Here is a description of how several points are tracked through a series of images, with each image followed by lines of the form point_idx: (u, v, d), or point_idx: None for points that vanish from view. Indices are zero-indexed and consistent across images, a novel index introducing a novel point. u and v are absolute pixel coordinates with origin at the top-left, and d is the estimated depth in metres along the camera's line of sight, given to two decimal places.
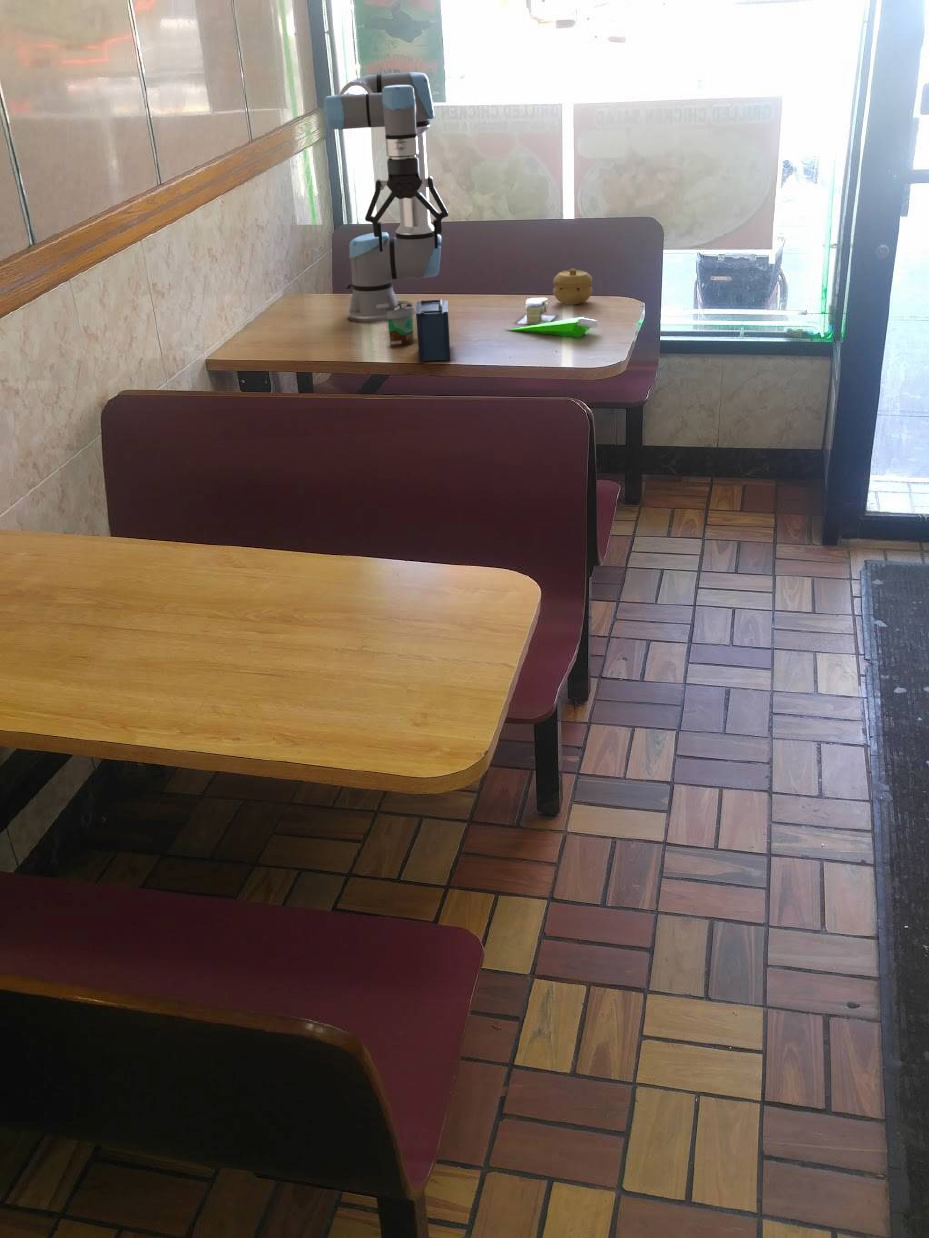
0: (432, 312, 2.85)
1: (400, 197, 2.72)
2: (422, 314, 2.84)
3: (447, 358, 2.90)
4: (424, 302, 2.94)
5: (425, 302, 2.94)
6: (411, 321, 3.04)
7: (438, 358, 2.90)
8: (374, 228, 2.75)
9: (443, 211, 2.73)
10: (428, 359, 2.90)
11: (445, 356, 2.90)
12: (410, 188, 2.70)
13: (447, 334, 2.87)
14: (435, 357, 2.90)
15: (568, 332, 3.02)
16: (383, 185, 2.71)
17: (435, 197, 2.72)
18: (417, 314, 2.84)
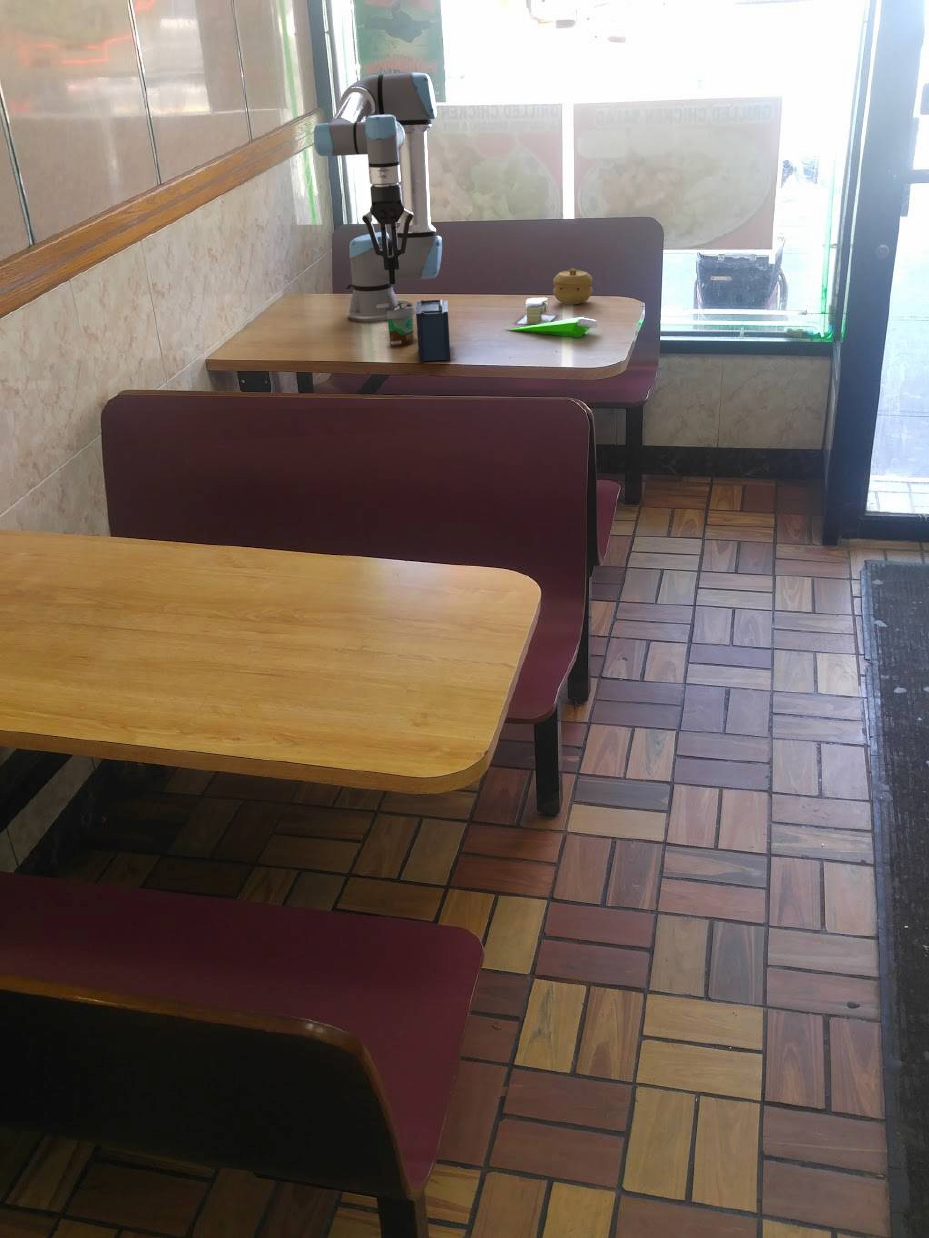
0: (432, 312, 2.85)
1: None
2: (422, 314, 2.84)
3: (447, 358, 2.90)
4: (424, 302, 2.94)
5: (425, 302, 2.94)
6: (411, 321, 3.04)
7: (438, 358, 2.90)
8: (384, 261, 2.83)
9: (402, 247, 2.81)
10: (428, 359, 2.90)
11: (445, 356, 2.90)
12: (391, 214, 2.77)
13: (447, 334, 2.87)
14: (435, 357, 2.90)
15: (568, 332, 3.02)
16: (369, 216, 2.78)
17: (404, 232, 2.79)
18: (417, 314, 2.84)
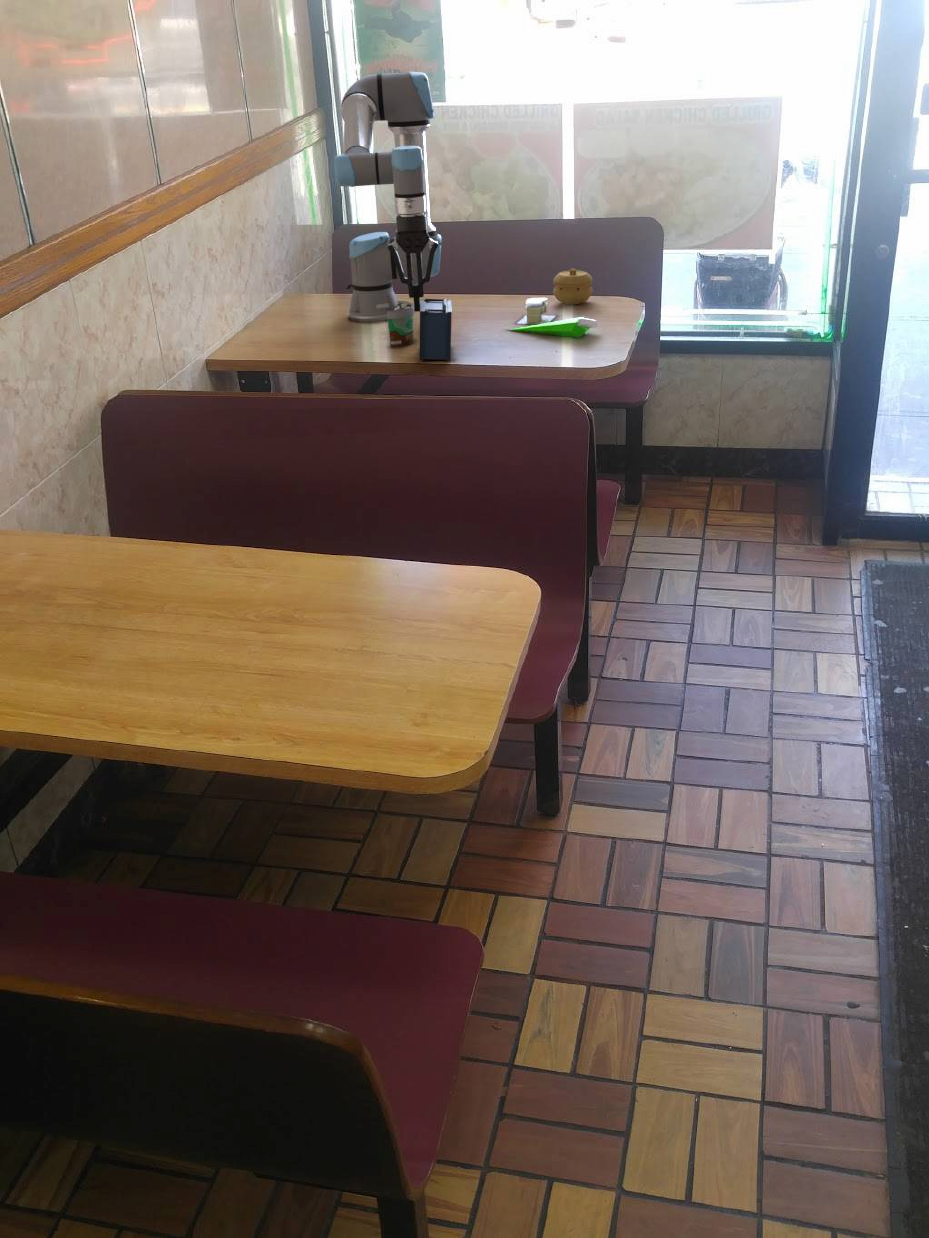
0: (436, 311, 2.85)
1: None
2: (426, 312, 2.84)
3: (447, 358, 2.90)
4: (428, 300, 2.94)
5: (429, 300, 2.94)
6: (411, 321, 3.04)
7: (438, 357, 2.90)
8: (409, 289, 2.87)
9: (427, 275, 2.85)
10: (428, 357, 2.90)
11: (445, 356, 2.90)
12: (417, 244, 2.80)
13: (449, 334, 2.87)
14: (435, 356, 2.90)
15: (568, 332, 3.02)
16: (395, 245, 2.82)
17: (429, 260, 2.83)
18: (421, 312, 2.84)
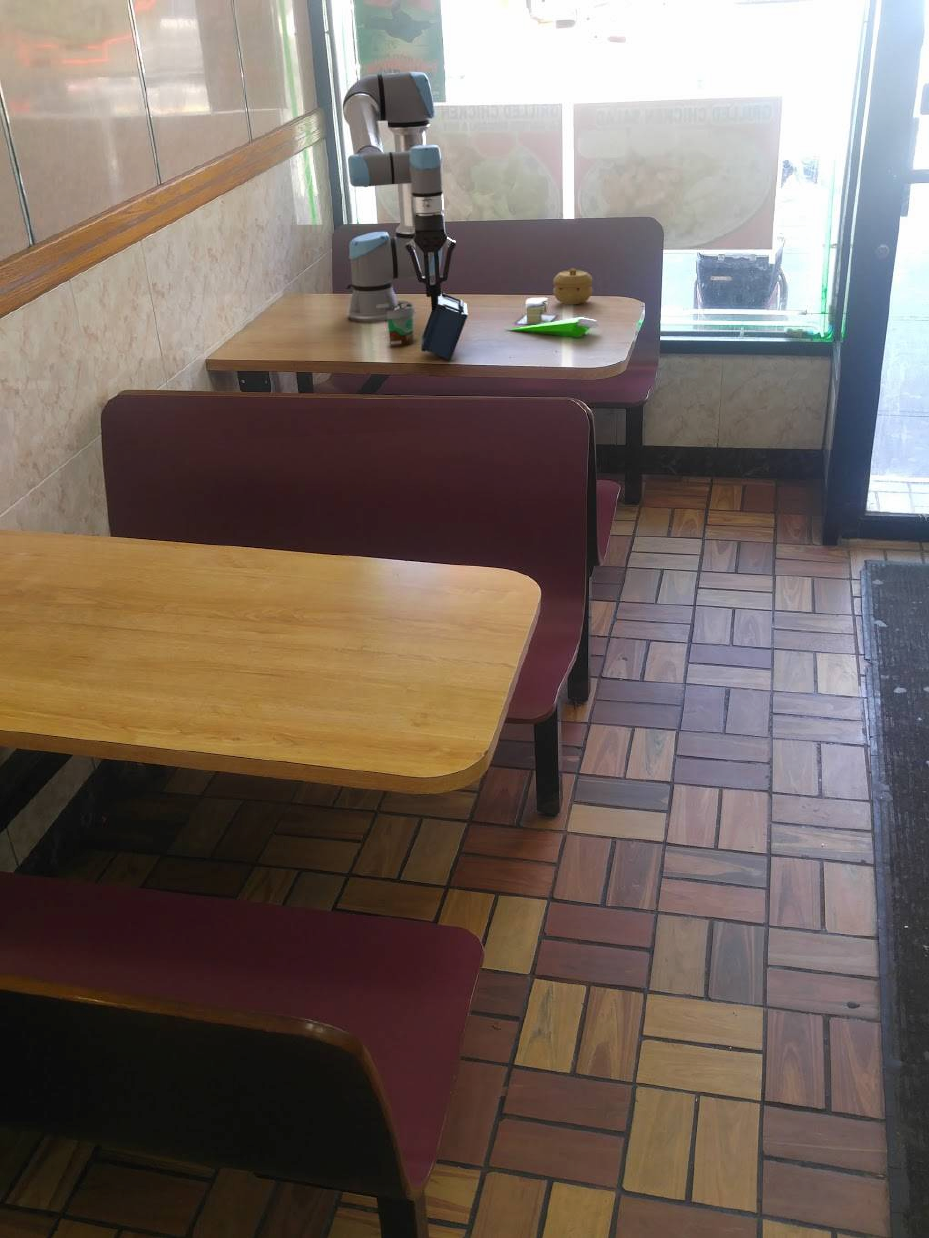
0: (453, 309, 2.84)
1: None
2: (443, 307, 2.83)
3: (448, 357, 2.90)
4: (445, 296, 2.94)
5: (446, 296, 2.94)
6: (411, 321, 3.04)
7: (440, 353, 2.90)
8: (426, 288, 2.87)
9: (445, 275, 2.85)
10: (430, 350, 2.89)
11: (447, 354, 2.90)
12: (434, 243, 2.80)
13: (458, 335, 2.87)
14: (437, 352, 2.89)
15: (568, 332, 3.02)
16: (413, 245, 2.82)
17: (447, 260, 2.83)
18: (439, 305, 2.83)
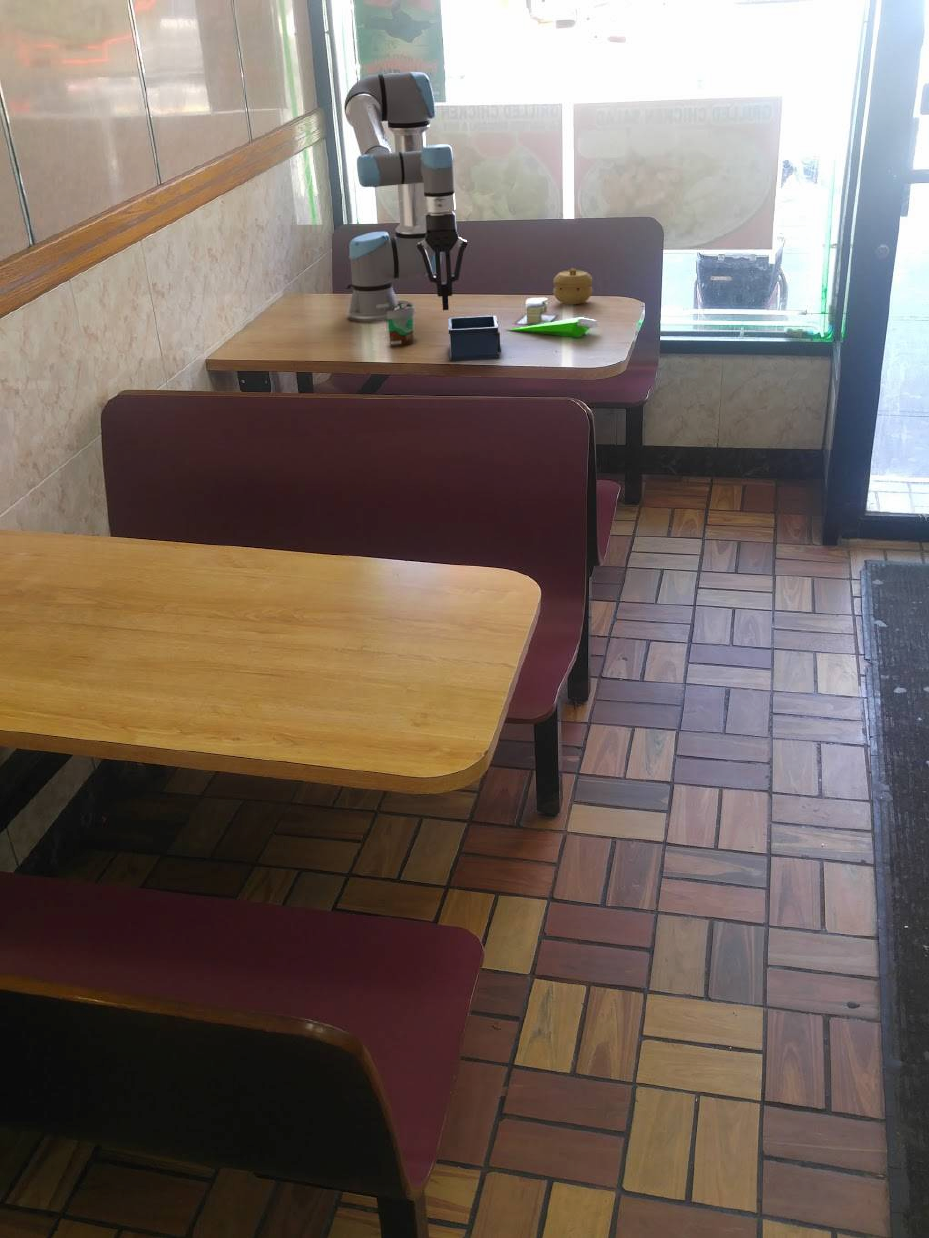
0: (498, 343, 2.89)
1: None
2: (497, 334, 2.87)
3: (453, 358, 2.90)
4: None
5: None
6: (411, 321, 3.04)
7: (452, 349, 2.89)
8: (438, 288, 2.87)
9: (456, 274, 2.85)
10: (451, 339, 2.88)
11: (454, 356, 2.90)
12: (446, 242, 2.80)
13: (477, 358, 2.90)
14: (453, 345, 2.89)
15: (568, 332, 3.02)
16: (424, 244, 2.82)
17: (458, 259, 2.83)
18: (497, 329, 2.87)
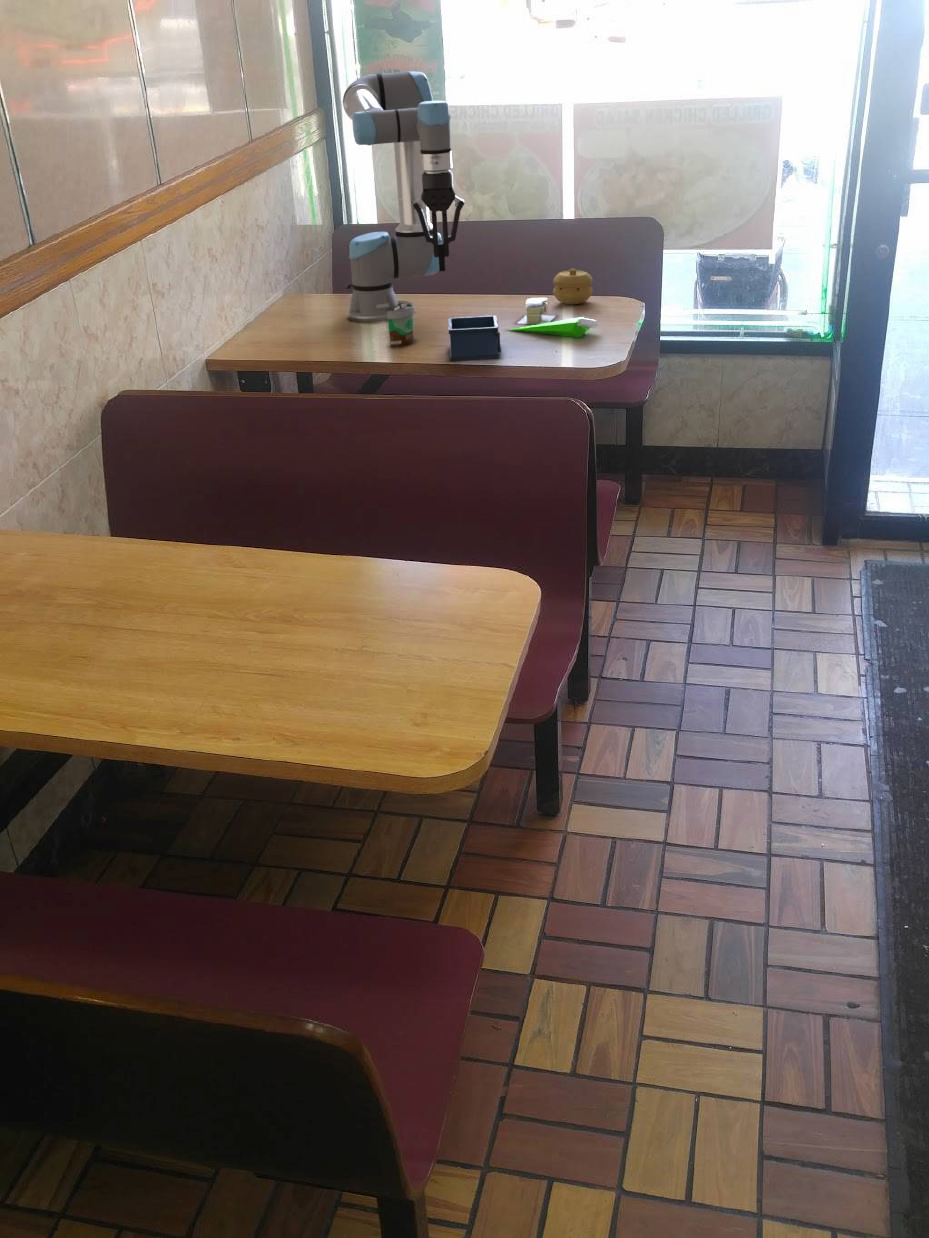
0: (498, 343, 2.89)
1: None
2: (497, 334, 2.87)
3: (453, 358, 2.90)
4: None
5: None
6: (411, 321, 3.04)
7: (452, 349, 2.89)
8: (434, 249, 2.83)
9: (453, 234, 2.81)
10: (451, 339, 2.88)
11: (454, 356, 2.90)
12: (443, 201, 2.76)
13: (477, 358, 2.90)
14: (453, 345, 2.89)
15: (568, 332, 3.02)
16: (420, 203, 2.77)
17: (455, 219, 2.79)
18: (497, 329, 2.87)
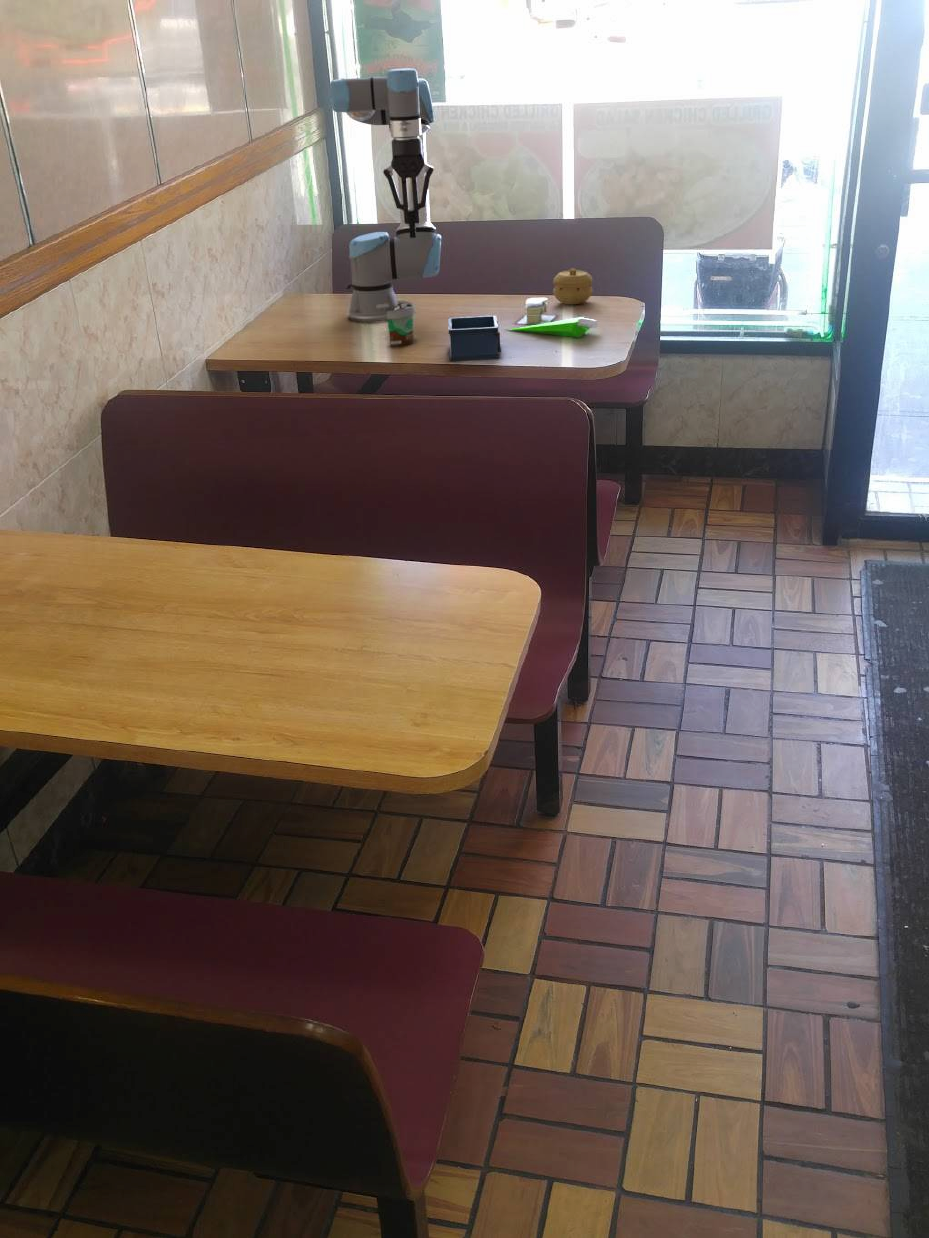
0: (498, 343, 2.89)
1: None
2: (497, 334, 2.87)
3: (453, 358, 2.90)
4: None
5: None
6: (411, 321, 3.04)
7: (452, 349, 2.89)
8: (405, 215, 2.88)
9: (423, 201, 2.86)
10: (451, 339, 2.88)
11: (454, 356, 2.90)
12: (412, 168, 2.81)
13: (477, 358, 2.90)
14: (453, 345, 2.89)
15: (568, 332, 3.02)
16: (390, 170, 2.83)
17: (425, 185, 2.84)
18: (497, 329, 2.87)
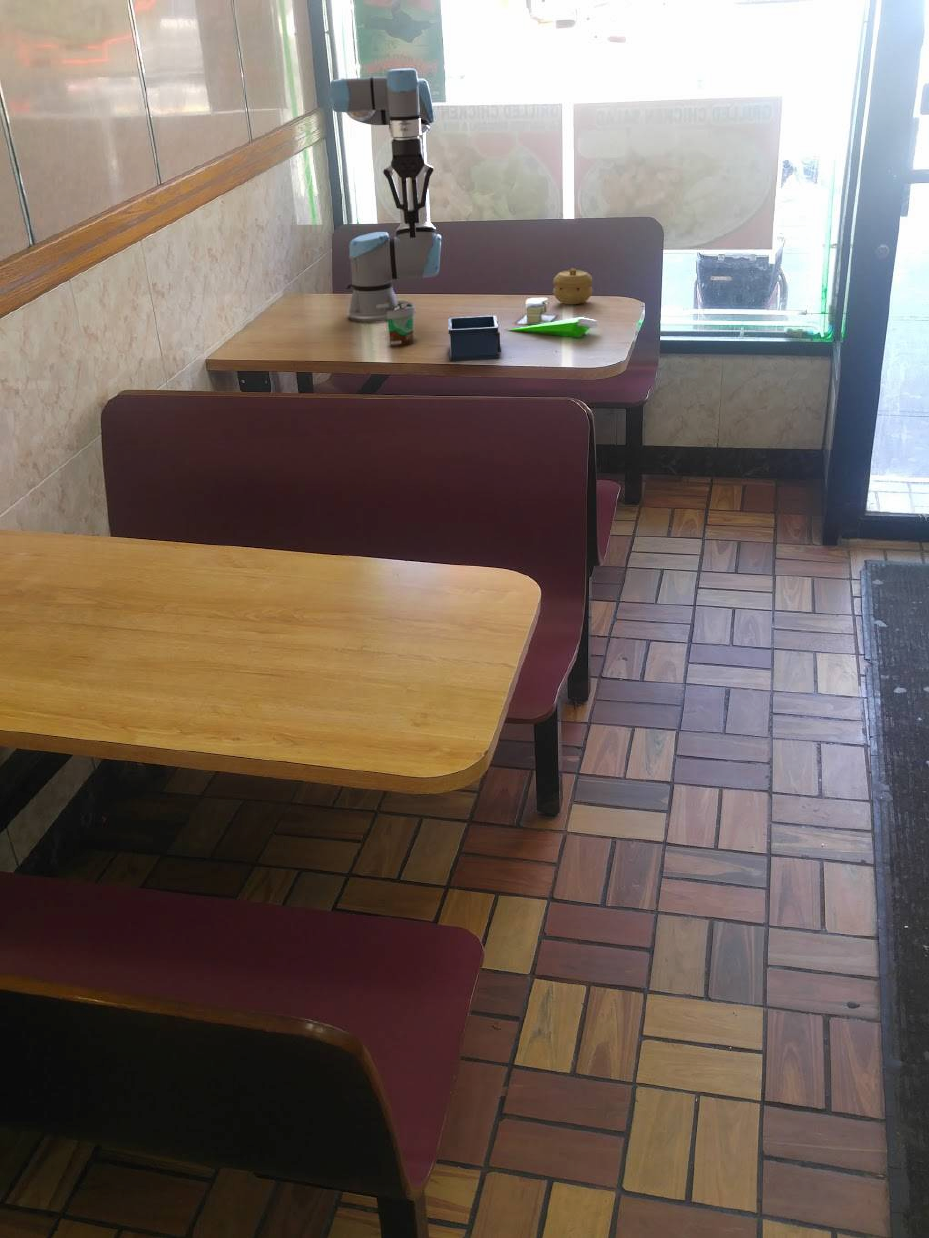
0: (498, 343, 2.89)
1: None
2: (497, 334, 2.87)
3: (453, 358, 2.90)
4: None
5: None
6: (411, 321, 3.04)
7: (452, 349, 2.89)
8: (405, 215, 2.88)
9: (422, 201, 2.86)
10: (451, 339, 2.88)
11: (454, 356, 2.90)
12: (412, 168, 2.81)
13: (477, 358, 2.90)
14: (453, 345, 2.89)
15: (568, 332, 3.02)
16: (390, 170, 2.83)
17: (425, 185, 2.84)
18: (497, 329, 2.87)
